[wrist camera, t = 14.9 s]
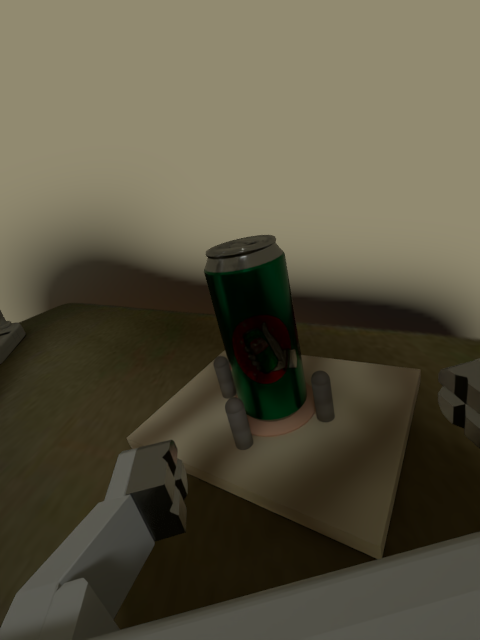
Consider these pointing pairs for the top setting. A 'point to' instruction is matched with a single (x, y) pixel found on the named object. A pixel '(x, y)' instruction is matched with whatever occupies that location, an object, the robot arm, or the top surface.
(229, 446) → the can tray
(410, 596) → the robot arm
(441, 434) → the top surface
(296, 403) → the soda can
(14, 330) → the electronic device
